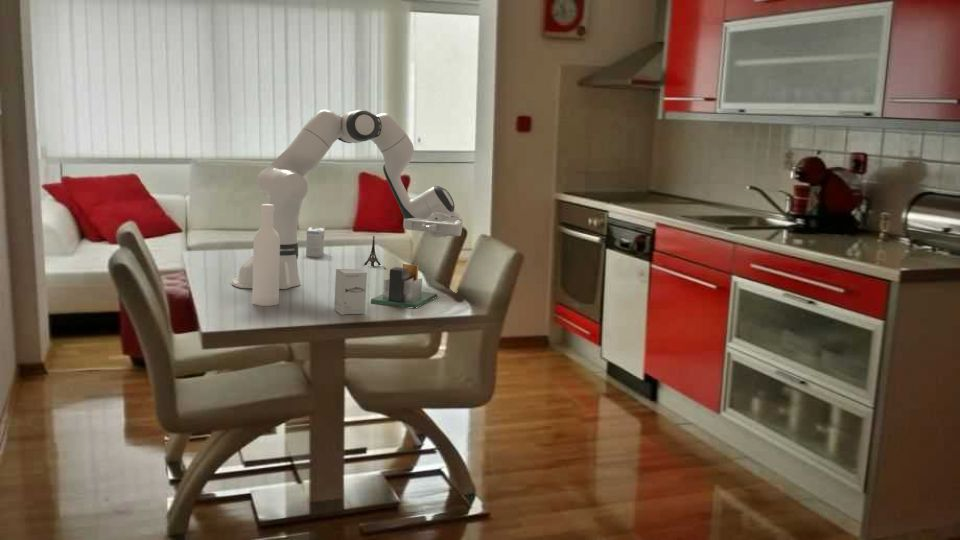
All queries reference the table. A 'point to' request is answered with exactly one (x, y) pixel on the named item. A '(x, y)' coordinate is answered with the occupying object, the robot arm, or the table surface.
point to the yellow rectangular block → (411, 271)
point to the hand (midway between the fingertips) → (425, 228)
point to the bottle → (266, 260)
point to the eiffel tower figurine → (372, 255)
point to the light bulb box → (315, 242)
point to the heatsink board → (403, 290)
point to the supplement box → (350, 291)
